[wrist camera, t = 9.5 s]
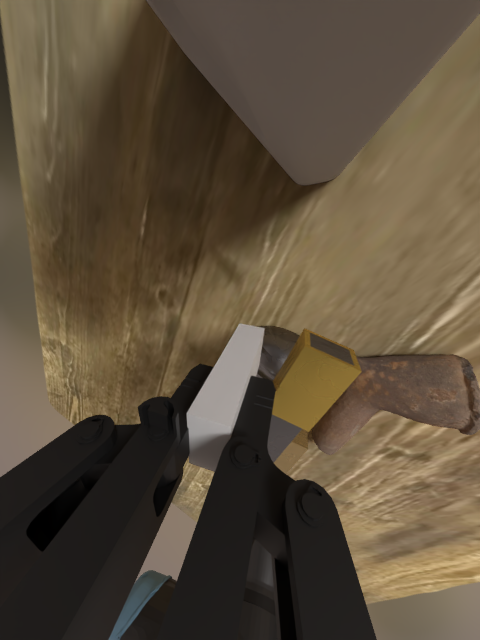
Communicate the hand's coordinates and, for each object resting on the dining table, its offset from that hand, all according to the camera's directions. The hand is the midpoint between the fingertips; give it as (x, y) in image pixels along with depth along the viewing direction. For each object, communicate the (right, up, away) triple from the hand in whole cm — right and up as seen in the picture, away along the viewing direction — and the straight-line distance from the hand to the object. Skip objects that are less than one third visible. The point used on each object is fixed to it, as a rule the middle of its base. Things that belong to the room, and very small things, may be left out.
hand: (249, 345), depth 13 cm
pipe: (+14, -7, +11) cm, 19 cm away
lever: (+2, -6, +2) cm, 6 cm away
